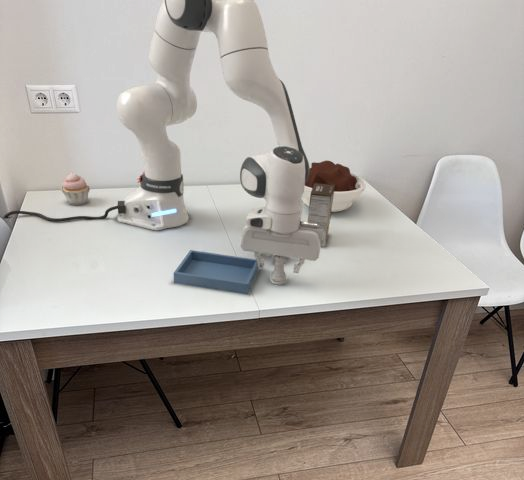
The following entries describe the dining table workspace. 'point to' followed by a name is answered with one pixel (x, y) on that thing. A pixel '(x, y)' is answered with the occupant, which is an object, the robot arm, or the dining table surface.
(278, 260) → the rook chess piece
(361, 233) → the dining table surface
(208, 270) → the tray
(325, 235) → the coffee box
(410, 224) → the dining table surface
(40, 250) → the dining table surface
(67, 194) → the cupcake
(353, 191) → the bowl of brown lumps
